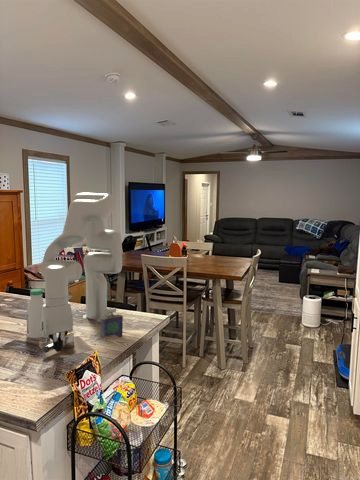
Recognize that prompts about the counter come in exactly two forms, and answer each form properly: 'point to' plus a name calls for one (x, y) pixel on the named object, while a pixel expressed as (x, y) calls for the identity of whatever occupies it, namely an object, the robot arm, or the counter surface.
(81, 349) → the lever stand
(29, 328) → the milk bottle
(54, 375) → the counter surface
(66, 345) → the crank handle
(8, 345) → the counter surface
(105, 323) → the flask
